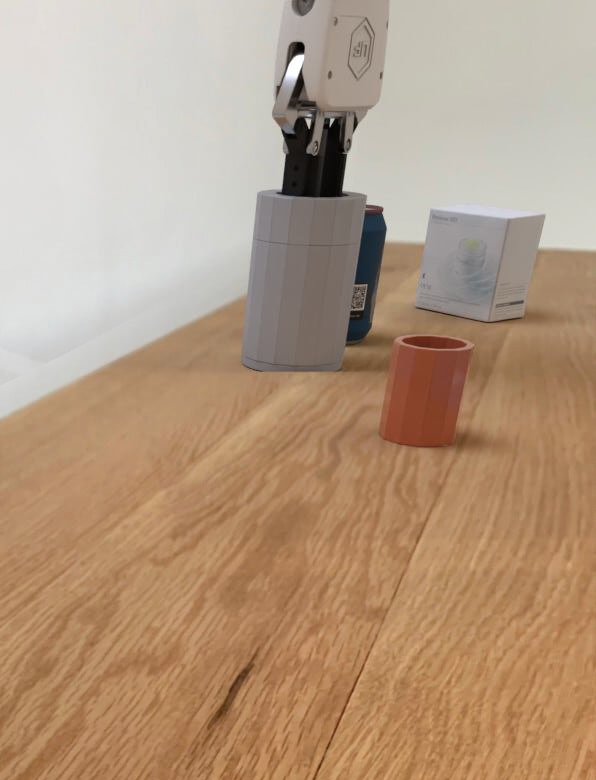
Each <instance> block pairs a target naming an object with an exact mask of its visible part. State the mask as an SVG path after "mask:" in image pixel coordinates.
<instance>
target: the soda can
mask: <svg viewBox="0 0 596 780" xmlns="http://www.w3.org/2000/svg"><path fill="white" fill-rule="evenodd" d="M384 208H385V207H384V206H381V205H375V204H367V203H366V208H365V215H364V222H363V229H362V235H361V240H360V241H361V242H360V249H359V256H358V263H357V269H356V276H355V283H354V290H353V297H352V303H351V310H350V317H349V324H348V331H347V338H346V344H345V345H356V344H360V343H361V342H363V340H364V339H365V338H366V336H367V335H368V334H369V332H370V331H371V329H372V327H373V321H374V314H375V307H376V302H377V295H378V289H379V284H380V283H379V282H380V276H381V269H382V263H383V257H384V250H385V245H386V244H385V243H386V238H387V231H388V227H387V224H386V220H385V216H384ZM359 342H360V343H359Z"/></svg>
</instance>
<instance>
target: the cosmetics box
mask: <svg viewBox="0 0 596 780" xmlns="http://www.w3.org/2000/svg"><path fill="white" fill-rule="evenodd" d="M428 215H429V216H428V222H427V228H426V235H425V240H424V246H423V253H422V257H421V258H422V259H421V264H420V269H419V276H418V282H417V287H416V295H415V298H414V299H415V300H414V307H415V308H420V309H424V310H428V311H434V312H438V313H443V314H446V315H452V316H456V317H461V318H465V319H470V320H474V321H480V322H485V323H492V322H498V321H505V320H511V319H518V318H523V317H524V316H525V311H526V305H527V301H528V296H529V293H530V286H531V283H532V277H533V273H534V268H535V264H536V261H537V260H536V259H537V255H538V251H539V246H540V243H541V242H540V241H541V237H542V232H543V228H544V224H545V221H546V216H547V214H546V213H544V212H540V211H539V212H538V211H529V210H522V209H514V208H506V207H499V206H490V205H481V204H474V203H462V204H461V203H460V204H454V205H447V206H446V205H445V206H438V207H430V209H429V214H428Z"/></svg>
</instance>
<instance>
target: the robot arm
mask: <svg viewBox="0 0 596 780" xmlns="http://www.w3.org/2000/svg"><path fill="white" fill-rule="evenodd" d="M283 2H284V3H283V6H282V13H281V19H280V25H279V31H278V38H277V44H276V45H277V46H276V53H275V61H274V71H273V100H274V104H273V108H272V110H271V116H272V119H273V120H274V121H275V123H276V124H277V126H278V127H279V128H280V131H281V134H282V137H283V142H282V152H283V154H284V155H285V157H284V165H283V166H284V167H283V177H282V184H281V185H282V186H281V189H282V193H281V195H286V196H296V197H318V192H319V184H320V176H321V168H322V160H323V155H317V153H318V151H319V147H320V141H321V135H322V130H323V129H328V135H327V142H326V150H325V158H324V166H323V174H322V182H321V190H320V197H342V191H344V190H343V189H344V180H345V175H346V174H345V173H346V167H347V160H348V154H349V152H351V150H352V145H353V135H354V134H355V131H356V130H357V128H358V125H359V124H360V123H361V122H362V121H363V119H364V118H365V117H366V116H367V114H368V111H369V110H372V109H373V108H374V107H375V106H377V104H378V103H379V101H380V98H381V94H382V88H383V80H384V71H385V62H386V54H387V43H388V42H387V41H388V33H389V19H390V4H391V3H390V2H391V0H284V1H283ZM331 119H333V121H332V122H331ZM307 120H310V124H309V125H308V122H307Z"/></svg>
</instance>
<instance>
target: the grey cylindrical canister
mask: <svg viewBox="0 0 596 780" xmlns="http://www.w3.org/2000/svg"><path fill="white" fill-rule="evenodd" d="M281 193H282V188H277V189H274V188H273V189H265V190H260V191H258V192H257V195H256V203H255V211H254V212H255V214H254V222H253V233H252V242H251V253H250V262H249V263H250V264H249V273H248V284H247V293H246V301H245V302H246V303H245V311H244V322H243V332H242V342H241V364H242V365H243V366H245V367H247V368H249V369H252V370H255V371H259V372H264V373H282V372H283V373H286V372H287V373H289V372H290V373H293V372H295V373H311V372H313V373H314V372H315V373H316V372H317V373H320V372H321V373H322V372H325V373H326V372H327V373H328V372H329V373H330V372H331V373H333V372H334V373H335V372H338V371H339V370H341V369H342V366H343V359H344V357H345V352H346V351H345V350H346V345H347V344H346V338H347V331H348V324H349V317H350V310H351V303H352V297H353V290H354V283H355V276H356V269H357V263H358V256H359V249H360V242H361V241H360V240H361V235H362V229H363V222H364V215H365V208H366V204H367V201H368V195H367V194H364V193H361V192H357V191H349V190H348V191H346V190H342V197H296V196H286V195H281Z"/></svg>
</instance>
